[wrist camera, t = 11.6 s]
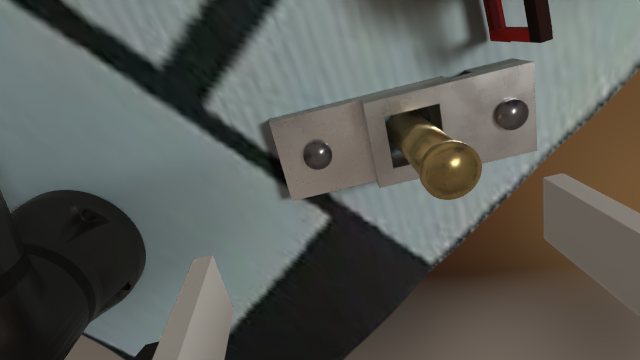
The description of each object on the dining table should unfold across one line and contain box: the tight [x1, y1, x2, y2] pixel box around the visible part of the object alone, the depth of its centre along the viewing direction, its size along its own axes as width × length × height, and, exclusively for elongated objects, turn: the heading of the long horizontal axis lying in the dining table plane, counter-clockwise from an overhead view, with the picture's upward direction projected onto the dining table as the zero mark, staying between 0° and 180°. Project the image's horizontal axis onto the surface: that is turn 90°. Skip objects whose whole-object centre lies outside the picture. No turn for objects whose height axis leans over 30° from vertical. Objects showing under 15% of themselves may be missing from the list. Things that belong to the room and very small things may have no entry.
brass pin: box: [387, 111, 482, 200], centre depth 36 cm, size 5×5×14 cm
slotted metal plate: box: [269, 59, 537, 201], centre depth 41 cm, size 26×9×5 cm, turn 103°
